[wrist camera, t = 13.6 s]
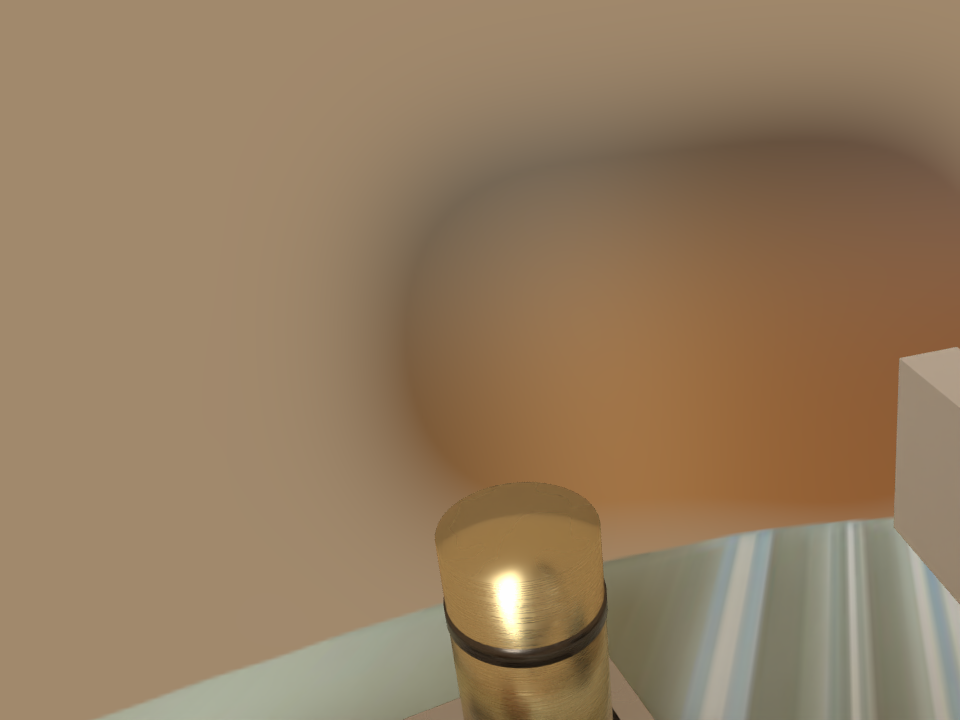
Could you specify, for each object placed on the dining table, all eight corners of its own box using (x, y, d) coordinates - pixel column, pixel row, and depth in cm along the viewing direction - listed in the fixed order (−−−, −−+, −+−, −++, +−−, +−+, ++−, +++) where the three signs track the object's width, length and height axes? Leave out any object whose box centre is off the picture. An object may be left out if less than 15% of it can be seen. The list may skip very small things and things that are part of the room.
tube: (581, 750, 32) (556, 465, 27) (648, 858, 28) (634, 547, 23) (461, 800, 31) (411, 510, 26) (514, 921, 27) (468, 605, 22)
